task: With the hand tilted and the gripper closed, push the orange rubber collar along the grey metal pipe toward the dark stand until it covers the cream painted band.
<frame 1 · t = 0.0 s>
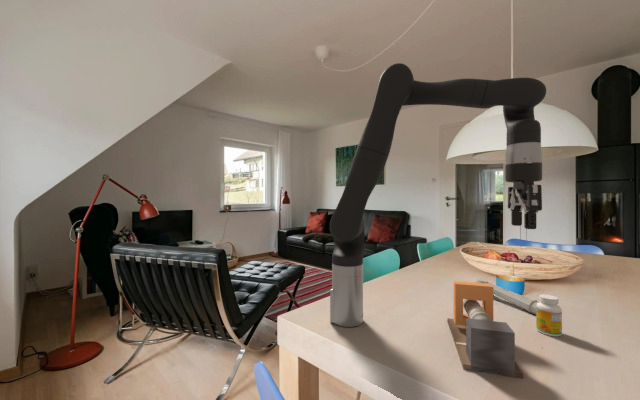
hand: (523, 227, 70), 29 cm above the table, tool pointing down, fingers open, 8 cm apart
collar: (472, 304, 75), point 8 cm above the table, slide at 0.0 cm
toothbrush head: (505, 304, 97), on the table
pipe stand: (478, 344, 69), on the table
supplement bottle: (548, 333, 76), on the table
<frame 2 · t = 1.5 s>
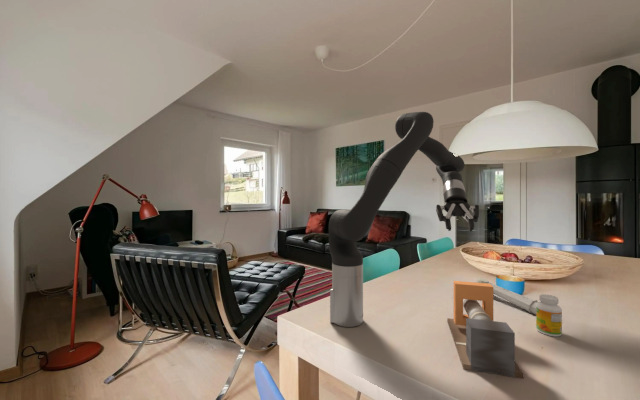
hand: (460, 229, 92), 26 cm above the table, tool tilted 45°, fingers open, 5 cm apart
nothing on the table moved.
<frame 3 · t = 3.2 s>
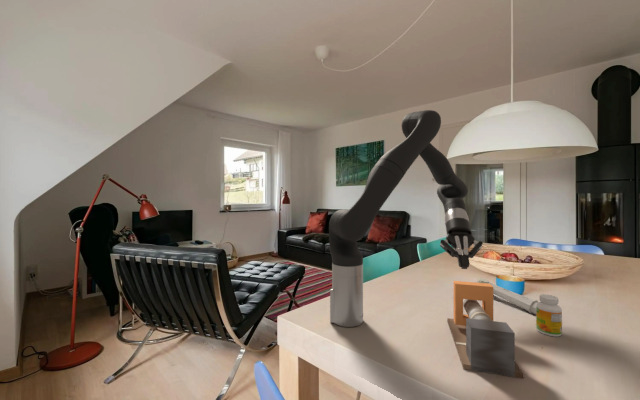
hand: (464, 267, 85), 16 cm above the table, tool tilted 45°, fingers closed
nothing on the table moved.
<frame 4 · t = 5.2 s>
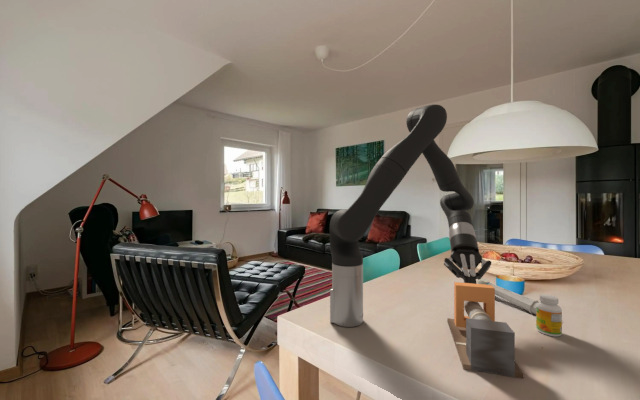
hand: (471, 290, 76), 11 cm above the table, tool tilted 45°, fingers closed
collar: (473, 305, 74), point 8 cm above the table, slide at 1.3 cm, touching gripper
everything else where it was.
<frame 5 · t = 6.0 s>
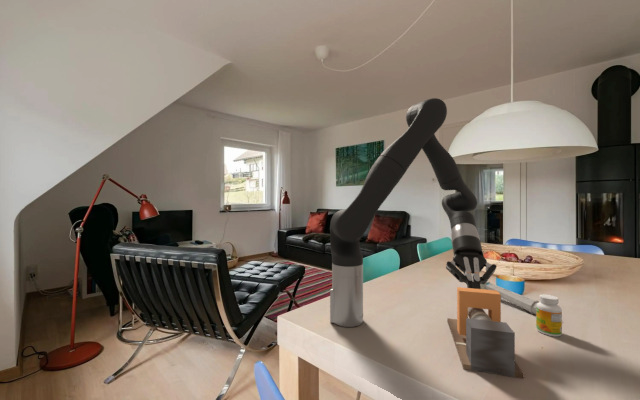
hand: (475, 296, 71), 11 cm above the table, tool tilted 45°, fingers closed
collar: (478, 312, 69), point 8 cm above the table, slide at 5.9 cm, touching gripper
everything else where it was.
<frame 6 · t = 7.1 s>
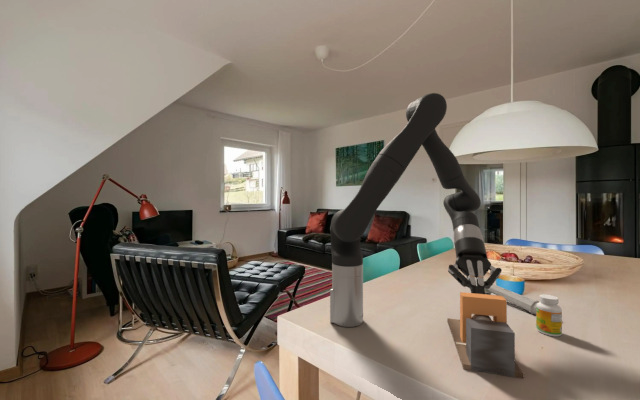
hand: (479, 302, 68), 11 cm above the table, tool tilted 45°, fingers closed
collar: (482, 319, 66), point 8 cm above the table, slide at 10.0 cm, touching gripper
everything else where it was.
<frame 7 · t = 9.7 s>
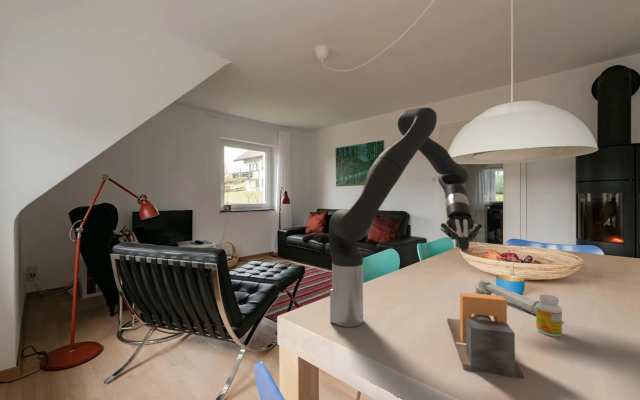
hand: (464, 249, 87), 21 cm above the table, tool tilted 45°, fingers closed
collar: (482, 319, 65), point 8 cm above the table, slide at 10.1 cm
everything else where it was.
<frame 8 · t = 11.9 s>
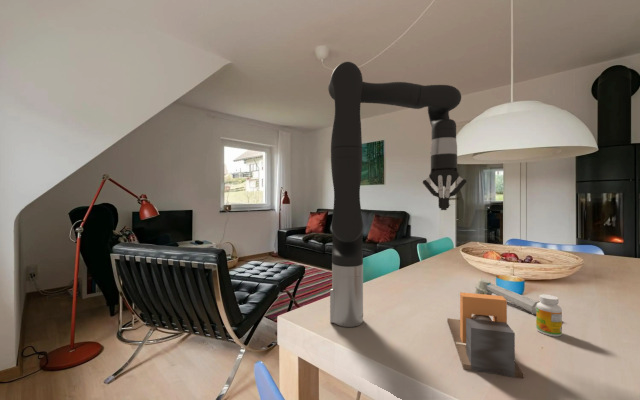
hand: (443, 210, 86), 33 cm above the table, tool pointing down, fingers closed
at the end: collar slide at 10.1 cm; supplement bottle moved 0.2 cm from its start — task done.
